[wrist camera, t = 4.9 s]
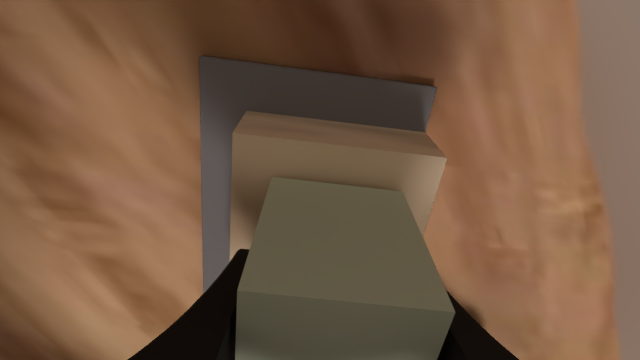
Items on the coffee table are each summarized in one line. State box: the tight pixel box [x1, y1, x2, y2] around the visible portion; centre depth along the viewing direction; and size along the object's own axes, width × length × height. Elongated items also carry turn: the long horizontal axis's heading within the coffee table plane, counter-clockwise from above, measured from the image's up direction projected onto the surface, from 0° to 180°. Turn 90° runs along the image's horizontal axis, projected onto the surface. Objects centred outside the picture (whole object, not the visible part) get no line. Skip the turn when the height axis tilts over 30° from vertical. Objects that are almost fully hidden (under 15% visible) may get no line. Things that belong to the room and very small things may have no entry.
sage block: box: [235, 177, 455, 360], centre depth 12 cm, size 5×5×6 cm
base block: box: [230, 111, 447, 261], centre depth 16 cm, size 8×8×3 cm
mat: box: [199, 56, 437, 293], centre depth 18 cm, size 14×10×1 cm
